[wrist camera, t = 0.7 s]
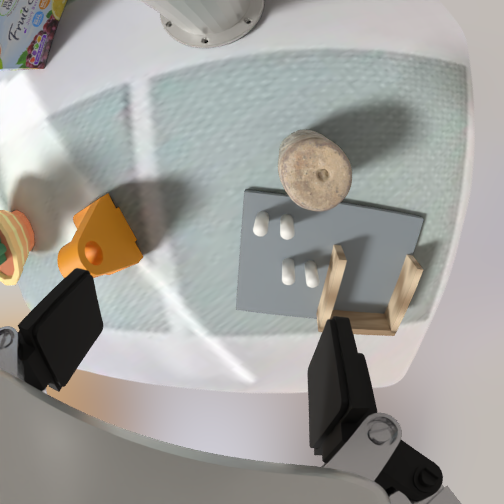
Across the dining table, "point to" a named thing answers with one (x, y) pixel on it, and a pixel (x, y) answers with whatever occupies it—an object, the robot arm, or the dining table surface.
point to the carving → (314, 170)
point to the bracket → (100, 241)
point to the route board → (319, 255)
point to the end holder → (363, 320)
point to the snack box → (27, 32)
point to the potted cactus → (14, 245)
